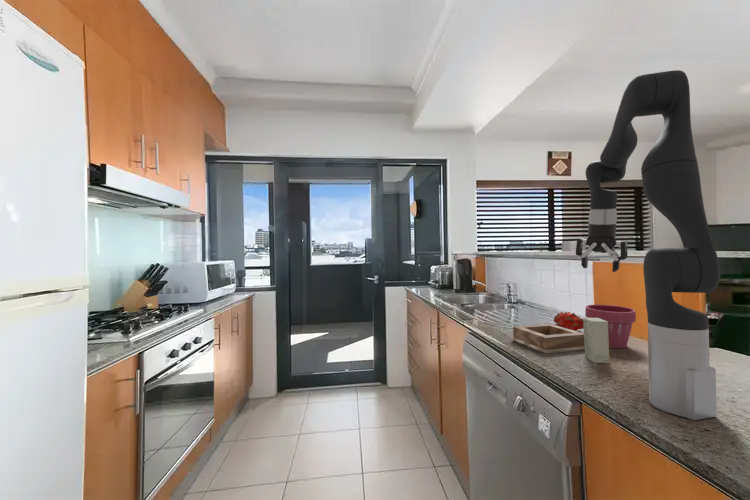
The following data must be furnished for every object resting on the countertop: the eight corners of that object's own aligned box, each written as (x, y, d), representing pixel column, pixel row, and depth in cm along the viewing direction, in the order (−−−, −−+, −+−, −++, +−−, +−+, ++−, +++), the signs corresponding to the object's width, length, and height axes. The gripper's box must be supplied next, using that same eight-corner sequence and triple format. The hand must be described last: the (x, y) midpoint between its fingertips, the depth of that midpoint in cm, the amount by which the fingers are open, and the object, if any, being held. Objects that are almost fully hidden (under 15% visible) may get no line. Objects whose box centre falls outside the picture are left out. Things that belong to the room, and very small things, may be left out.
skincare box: (610, 363, 92) (609, 321, 92) (593, 363, 93) (592, 321, 93) (599, 356, 98) (598, 317, 99) (583, 356, 99) (582, 317, 99)
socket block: (586, 349, 106) (586, 334, 106) (545, 353, 102) (545, 337, 102) (550, 336, 122) (549, 323, 122) (513, 340, 118) (513, 326, 118)
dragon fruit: (550, 332, 133) (584, 340, 128) (553, 324, 127) (589, 332, 121) (552, 314, 137) (585, 321, 132) (555, 305, 131) (590, 312, 126)
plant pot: (645, 352, 102) (644, 312, 102) (593, 349, 106) (593, 310, 106) (625, 340, 115) (624, 305, 115) (580, 337, 120) (580, 303, 120)
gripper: (574, 222, 109) (572, 268, 112) (625, 224, 98) (621, 275, 101) (582, 220, 114) (580, 265, 117) (632, 221, 103) (628, 270, 106)
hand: (599, 269), depth 109 cm, fingers open, 8 cm apart
